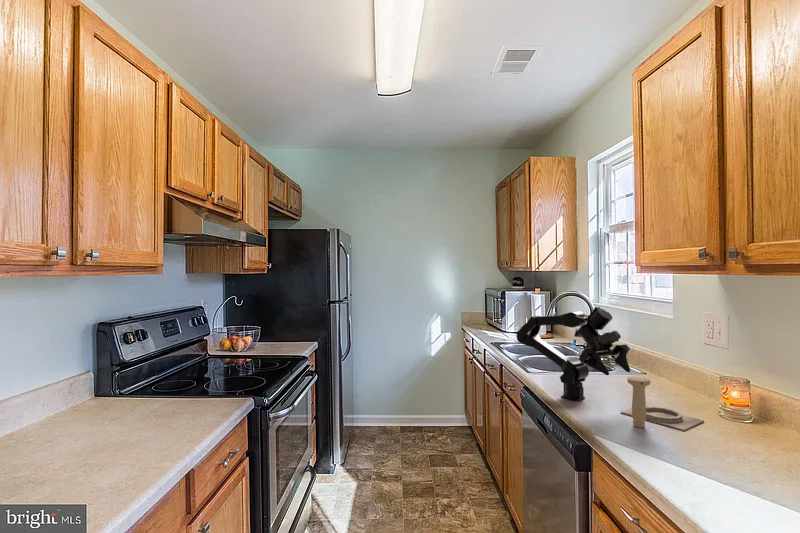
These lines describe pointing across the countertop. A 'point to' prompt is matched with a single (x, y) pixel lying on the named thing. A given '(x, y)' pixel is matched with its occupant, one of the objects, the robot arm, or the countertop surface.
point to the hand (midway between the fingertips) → (618, 373)
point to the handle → (639, 400)
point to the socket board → (668, 418)
